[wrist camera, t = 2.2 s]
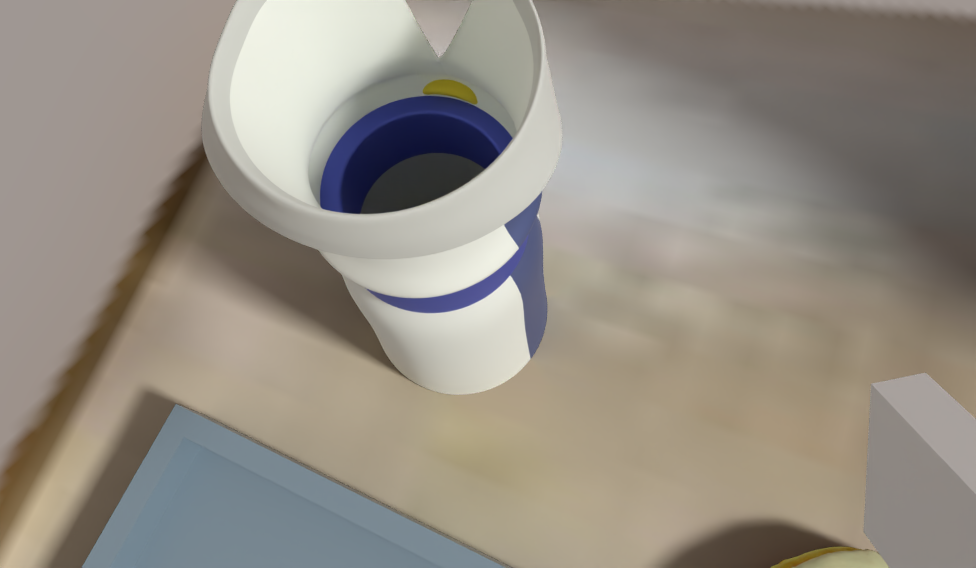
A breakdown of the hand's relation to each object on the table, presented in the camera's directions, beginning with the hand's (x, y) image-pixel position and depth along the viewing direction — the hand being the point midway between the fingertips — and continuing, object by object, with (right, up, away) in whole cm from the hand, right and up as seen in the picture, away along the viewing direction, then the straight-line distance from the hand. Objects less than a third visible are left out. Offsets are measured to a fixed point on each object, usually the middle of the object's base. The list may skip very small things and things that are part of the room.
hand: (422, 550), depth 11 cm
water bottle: (0, +3, +25) cm, 25 cm away
